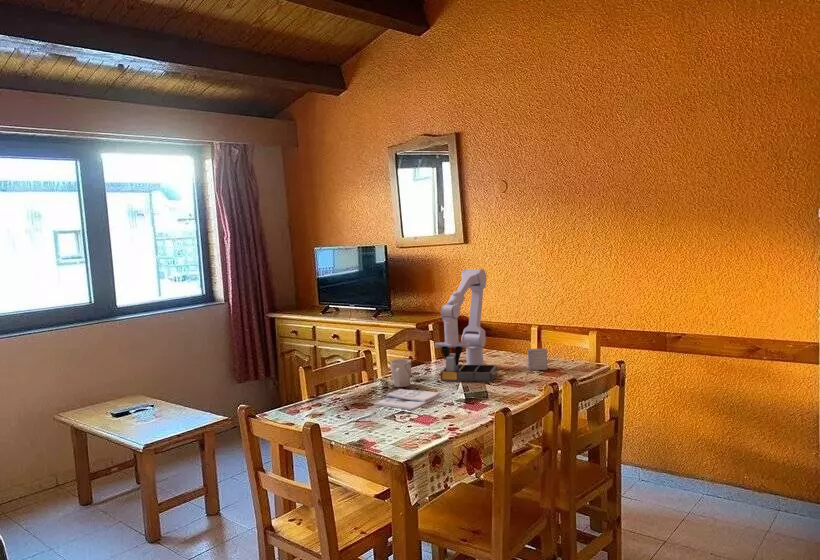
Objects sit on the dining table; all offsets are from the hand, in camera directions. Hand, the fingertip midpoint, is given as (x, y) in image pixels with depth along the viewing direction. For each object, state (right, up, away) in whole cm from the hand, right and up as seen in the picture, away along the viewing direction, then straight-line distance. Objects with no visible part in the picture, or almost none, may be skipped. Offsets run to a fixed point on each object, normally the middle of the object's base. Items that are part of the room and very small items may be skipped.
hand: (452, 364), depth 259 cm
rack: (+7, -5, -1) cm, 9 cm away
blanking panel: (0, -3, -1) cm, 3 cm away
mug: (-22, -8, -9) cm, 25 cm away
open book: (-19, -10, -30) cm, 37 cm away
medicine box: (+37, -3, +6) cm, 38 cm away
